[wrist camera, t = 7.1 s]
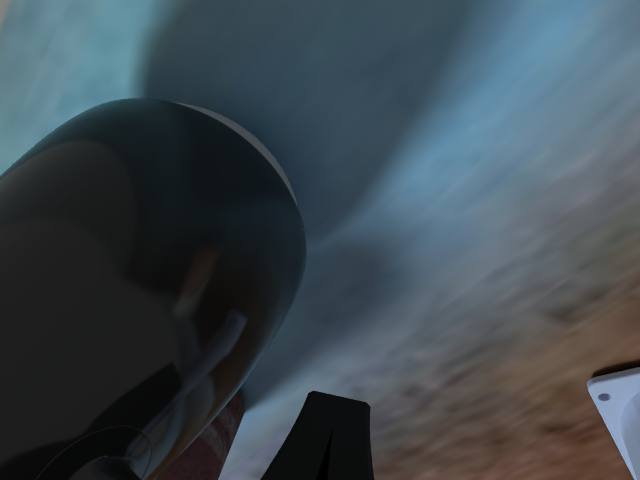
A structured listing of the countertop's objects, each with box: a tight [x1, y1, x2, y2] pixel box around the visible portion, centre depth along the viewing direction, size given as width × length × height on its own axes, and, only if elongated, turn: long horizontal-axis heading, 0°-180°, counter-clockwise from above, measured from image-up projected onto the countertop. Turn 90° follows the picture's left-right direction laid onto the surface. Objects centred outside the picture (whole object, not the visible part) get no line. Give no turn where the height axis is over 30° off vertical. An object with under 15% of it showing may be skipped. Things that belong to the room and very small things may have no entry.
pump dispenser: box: [0, 98, 306, 480], centre depth 15 cm, size 10×10×15 cm
